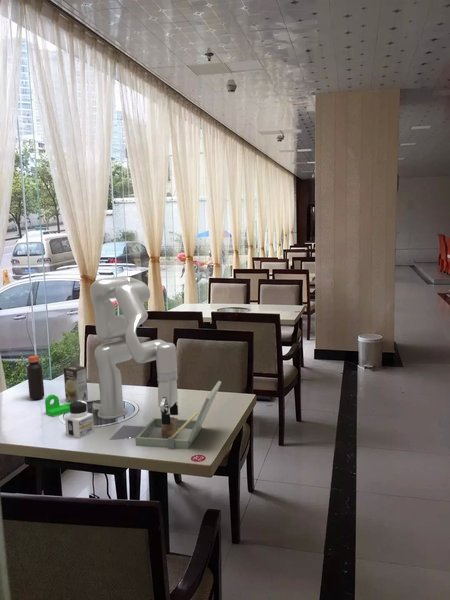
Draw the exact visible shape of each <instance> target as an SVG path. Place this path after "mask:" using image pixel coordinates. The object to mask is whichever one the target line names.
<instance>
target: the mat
mask: <svg viewBox="0 0 450 600" xmlns="http://www.w3.org/2000/svg"><path fill="white" fill-rule="evenodd" d="M145 427H146V426H144V425H143V426H142V425H141V426H140V425H139V426H138V425H126V424H125V425H122V426H121V427H120V428H119V429H118V430H117V431H116V432H115V433H114V434H113V435H112V436H111V437H110V438H109V439H108V440H109V441H115V440H116V441H118V440H130V439H129V437H131V439H135V438H136V437H137V436H138V435H139V434H140V432H141V431H142V430H143V429H144V428H145ZM125 438H126V439H125Z"/></svg>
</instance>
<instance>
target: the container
mask: <svg viewBox="0 0 450 600" xmlns="http://www.w3.org/2000/svg"><path fill="white" fill-rule="evenodd" d="M64 420H65V431H66V432H65V434H66V436H69V435H70V437H72V436H74V438H76V437H77V439H82V438H84V437H86V436H89V435H91V434H92V433H94V432H95V425H94V423H95V422H94V414H93V413H90V412H88V403H87V402H86V401H74V402H72V403H71V404H70V412H69V414H68V415H66V416H65V417H64ZM81 437H82V438H81Z"/></svg>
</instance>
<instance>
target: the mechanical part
mask: <svg viewBox="0 0 450 600" xmlns="http://www.w3.org/2000/svg"><path fill="white" fill-rule="evenodd" d="M51 401H53V402H52V403H51ZM71 403H72V402H70V401H69V402H67V403H64V404H60V399H59V397H58V395H56V394H48V395H47V396H46V397H45V400H44V404H45V405H44V408H45V413H46V415H48V417H51V418H53V417H57V416H60V415H65V414H67V413H70V404H71Z"/></svg>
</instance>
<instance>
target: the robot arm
mask: <svg viewBox="0 0 450 600" xmlns="http://www.w3.org/2000/svg"><path fill="white" fill-rule="evenodd" d="M89 295H90V299H91V302H92V305H93V309H94V321H95V331H96V336H97V338H98V339H99V340H101V341H108V340H109V341H108V342H104V343H102V344H100V345H99V344H98V346H97V347H96V348H95V350H94V359H95V363H96V367H97V376H98V387H99V400H100V403H93V404H92V410H97V417H98V418H100V419H102V420H103V419H104V420H114V419H119V418H122V417H124V416H126V415H127V414H128V409H127V408H126V407H124V400H123V398H124V396H123V385H122V384H123V383H122V380H123V379H122V373H121V371H120V369H119V368H118V367H117V366H116V364H119V363H123V362H128V361H130V360H131V359H133V360H134V361H135V362H136V363H138V364H145V363H149V362H153V361H156V362H155V363H156V375H157V381H158V385H157V388H158V389H157V393H158V395H157V396H158V397H157V398H158V399H157V401H158V403H157V404H158V407H159V409H160V415H161V417H160V418H162V424H165V425H170V423H171V422H170V417H171V416H179V406H178V403H179V402H178V399H179V398H178V396H179V394H178V393H179V392H178V383H177V380H179V379H178V363H177V362H178V361H177V348H176V345H175V343H173V342H166V341H164V340H163V339H154V340H149V341H145V342H144V341H143V342H141V341H140V340H139V338H138V335H137V328H138V327H139V326H140V325H142V324H144V322H146V321H147V319H148V316H149V314H148V311H147V310H146V308H145V306H144V304H143V303H145V302H149V299H150V298H151V290H150V288H149V287H148V285H147V284H146V283H145V282H144V281H142V280H139V279H137V278H134V277H131V276H128V275H127V276H126V275H123V276H115V277H114V276H113V277H105V278H100V279H97V280H95V281H93V282H92V284H91V285H90V289H89ZM111 299H115V300H116V301H117V304H118V306H119V309H120V310H121V311H122V314H118V315H116V308H115V305H114V303H113V301H111ZM113 339H118V340H114V341H110V340H113Z"/></svg>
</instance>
